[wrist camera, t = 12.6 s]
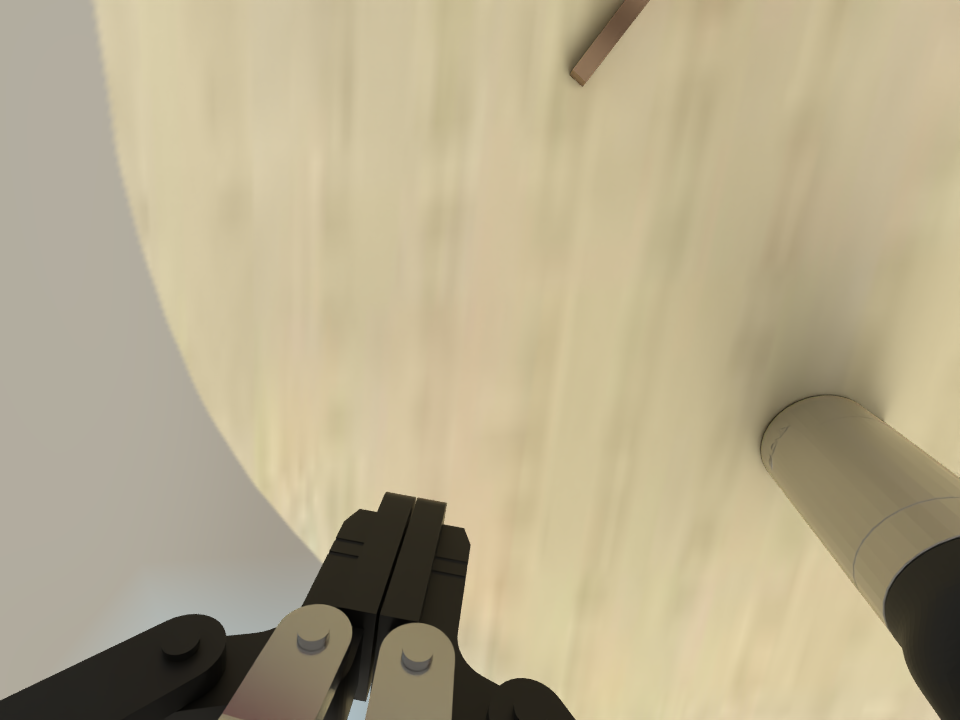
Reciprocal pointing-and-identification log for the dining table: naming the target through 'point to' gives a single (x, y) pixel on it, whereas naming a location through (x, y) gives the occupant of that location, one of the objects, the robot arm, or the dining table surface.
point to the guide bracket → (607, 39)
